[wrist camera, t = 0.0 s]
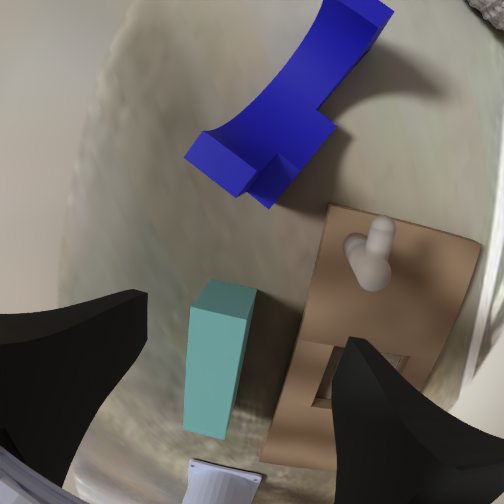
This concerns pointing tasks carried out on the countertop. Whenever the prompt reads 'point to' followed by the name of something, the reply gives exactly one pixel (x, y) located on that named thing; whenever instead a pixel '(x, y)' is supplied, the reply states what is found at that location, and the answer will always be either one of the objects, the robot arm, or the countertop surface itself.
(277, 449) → the slotted wooden board
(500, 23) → the sea urchin shell
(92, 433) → the countertop surface
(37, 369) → the robot arm
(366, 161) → the countertop surface
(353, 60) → the blue concave arch block
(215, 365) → the teal rectangular block
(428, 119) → the countertop surface
